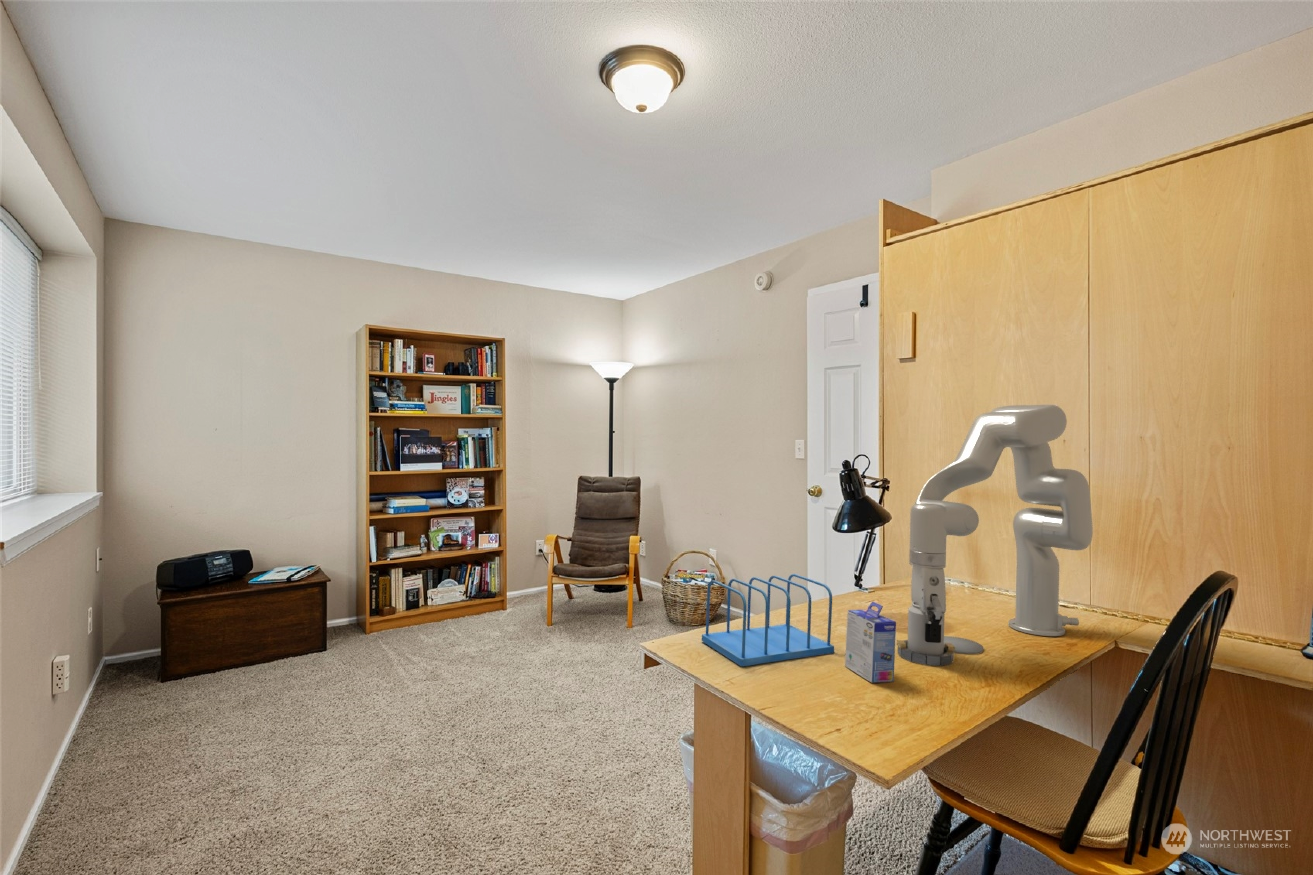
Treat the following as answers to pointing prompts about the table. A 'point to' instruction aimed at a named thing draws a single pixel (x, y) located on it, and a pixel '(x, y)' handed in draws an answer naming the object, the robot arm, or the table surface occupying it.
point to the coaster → (964, 645)
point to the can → (922, 633)
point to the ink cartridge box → (870, 644)
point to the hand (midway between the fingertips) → (925, 635)
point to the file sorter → (767, 630)
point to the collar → (926, 655)
